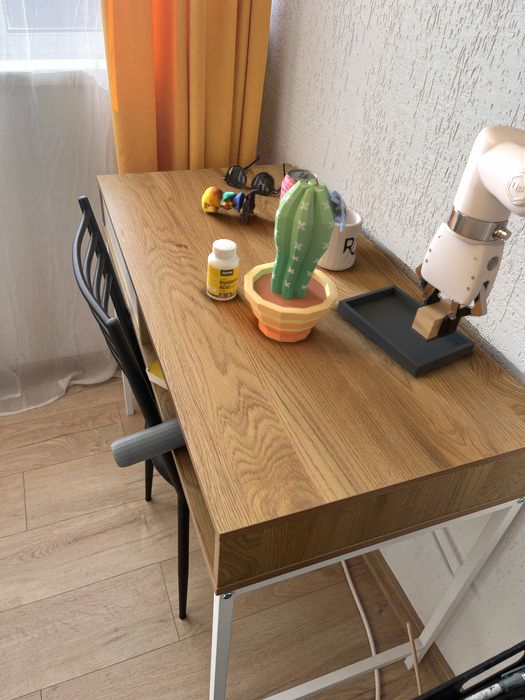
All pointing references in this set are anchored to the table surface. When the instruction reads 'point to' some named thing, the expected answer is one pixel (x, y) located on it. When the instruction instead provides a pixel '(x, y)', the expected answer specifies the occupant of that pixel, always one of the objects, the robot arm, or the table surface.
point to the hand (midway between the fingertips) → (435, 326)
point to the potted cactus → (297, 264)
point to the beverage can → (296, 179)
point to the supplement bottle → (222, 270)
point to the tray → (401, 329)
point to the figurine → (229, 202)
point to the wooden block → (430, 320)
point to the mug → (342, 243)
